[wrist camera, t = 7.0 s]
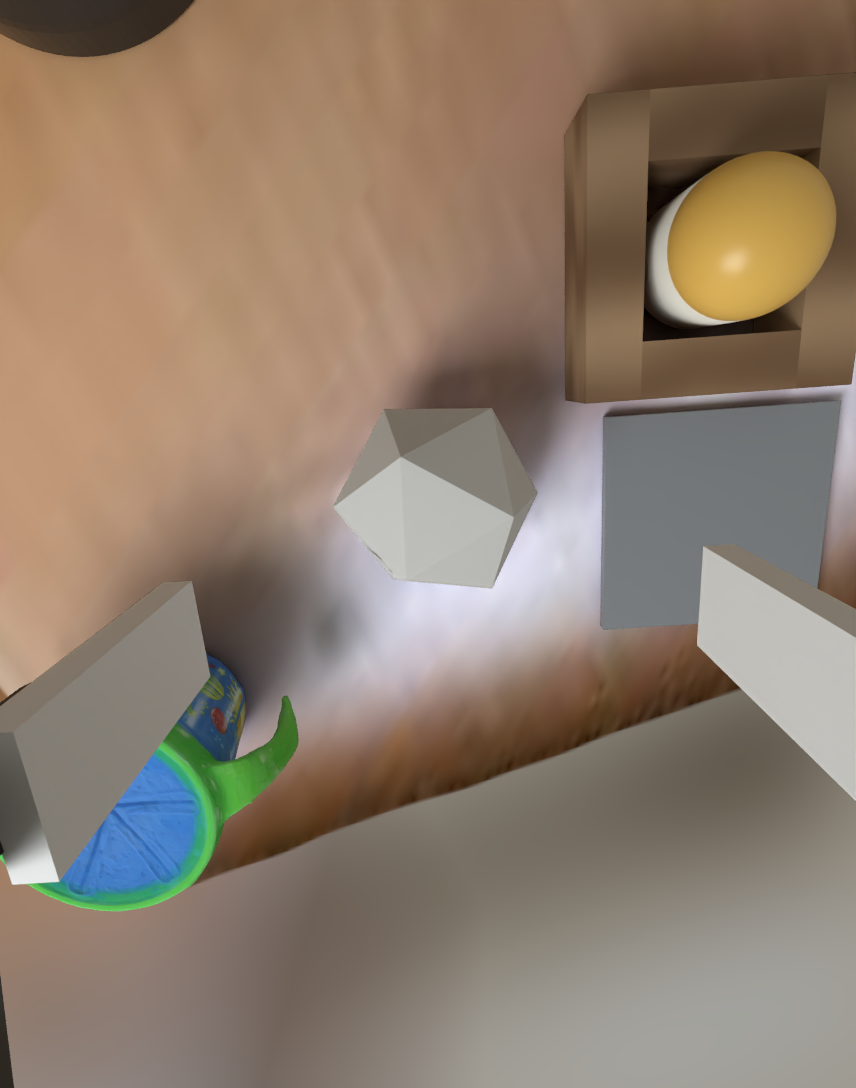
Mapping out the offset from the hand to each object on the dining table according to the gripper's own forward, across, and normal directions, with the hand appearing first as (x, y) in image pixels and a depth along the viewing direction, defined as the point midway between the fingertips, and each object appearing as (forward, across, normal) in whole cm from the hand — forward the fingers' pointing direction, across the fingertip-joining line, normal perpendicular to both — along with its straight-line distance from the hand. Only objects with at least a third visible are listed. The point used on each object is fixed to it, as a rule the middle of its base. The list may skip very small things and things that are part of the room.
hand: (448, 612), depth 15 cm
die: (+18, 0, 0) cm, 18 cm away
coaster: (+17, +15, -3) cm, 23 cm away
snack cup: (+18, -16, -12) cm, 26 cm away
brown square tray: (+17, +13, +10) cm, 24 cm away
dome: (+16, +13, +10) cm, 23 cm away
